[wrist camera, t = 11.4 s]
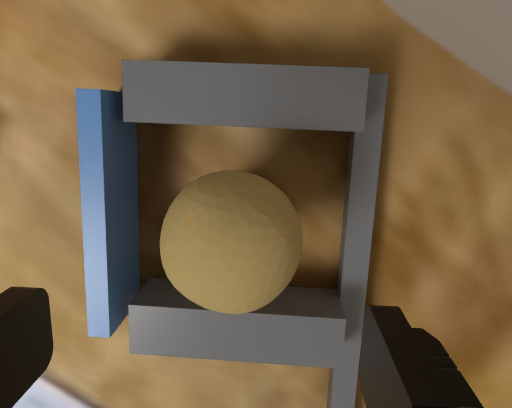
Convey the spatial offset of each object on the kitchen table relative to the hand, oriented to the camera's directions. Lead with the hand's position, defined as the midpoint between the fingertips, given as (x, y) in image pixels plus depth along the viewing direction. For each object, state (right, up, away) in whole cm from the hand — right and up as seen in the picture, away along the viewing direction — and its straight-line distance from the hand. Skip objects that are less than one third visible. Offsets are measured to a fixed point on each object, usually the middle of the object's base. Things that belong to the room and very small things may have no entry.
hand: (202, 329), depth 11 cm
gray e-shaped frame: (0, -3, +17) cm, 17 cm away
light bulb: (+1, +3, +16) cm, 16 cm away
